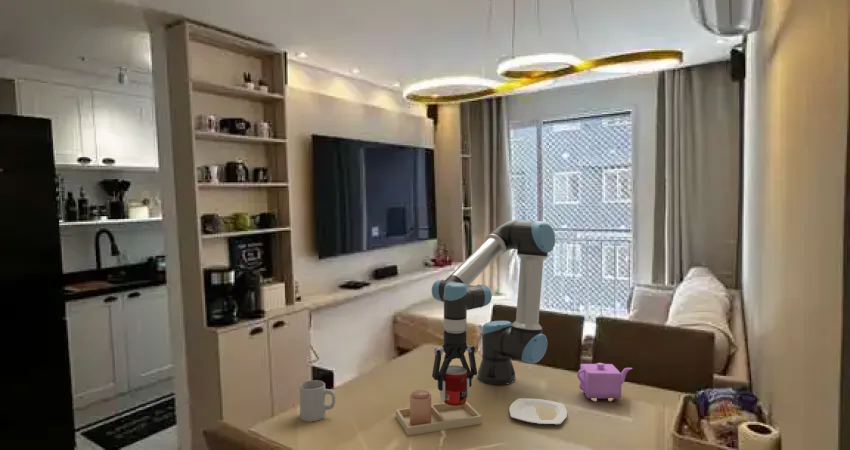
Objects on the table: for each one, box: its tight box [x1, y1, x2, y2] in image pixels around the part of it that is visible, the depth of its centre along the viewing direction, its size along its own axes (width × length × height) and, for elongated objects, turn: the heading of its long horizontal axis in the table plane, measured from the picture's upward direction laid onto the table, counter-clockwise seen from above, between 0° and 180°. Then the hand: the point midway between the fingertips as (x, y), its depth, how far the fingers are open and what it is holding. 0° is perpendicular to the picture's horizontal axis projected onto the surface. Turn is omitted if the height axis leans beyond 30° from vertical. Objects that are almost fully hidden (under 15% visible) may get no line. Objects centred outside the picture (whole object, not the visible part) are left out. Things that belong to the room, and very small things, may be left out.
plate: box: [509, 397, 568, 425], centre depth 171 cm, size 19×19×2 cm
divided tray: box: [395, 400, 483, 437], centre depth 166 cm, size 25×14×3 cm, turn 109°
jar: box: [409, 389, 432, 426], centre depth 164 cm, size 7×7×10 cm
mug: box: [299, 379, 336, 423], centre depth 170 cm, size 12×8×11 cm
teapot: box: [576, 362, 633, 399], centre depth 185 cm, size 20×10×12 cm, turn 88°
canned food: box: [443, 364, 468, 406], centre depth 167 cm, size 8×8×11 cm
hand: (454, 397), depth 167 cm, fingers closed on canned food, 8 cm apart
